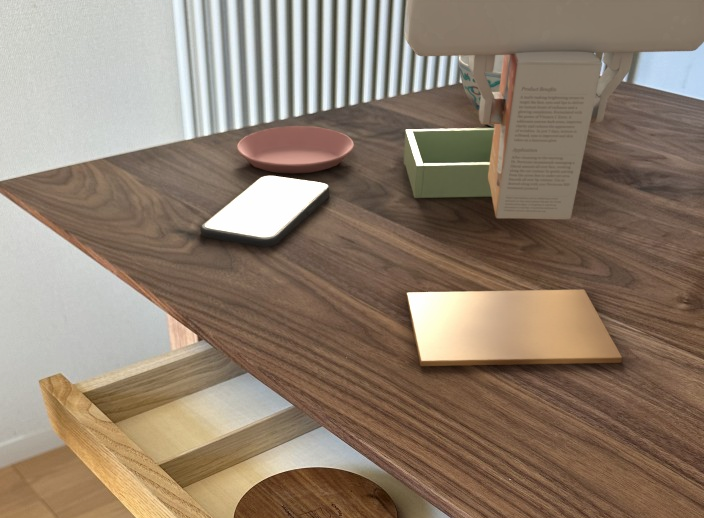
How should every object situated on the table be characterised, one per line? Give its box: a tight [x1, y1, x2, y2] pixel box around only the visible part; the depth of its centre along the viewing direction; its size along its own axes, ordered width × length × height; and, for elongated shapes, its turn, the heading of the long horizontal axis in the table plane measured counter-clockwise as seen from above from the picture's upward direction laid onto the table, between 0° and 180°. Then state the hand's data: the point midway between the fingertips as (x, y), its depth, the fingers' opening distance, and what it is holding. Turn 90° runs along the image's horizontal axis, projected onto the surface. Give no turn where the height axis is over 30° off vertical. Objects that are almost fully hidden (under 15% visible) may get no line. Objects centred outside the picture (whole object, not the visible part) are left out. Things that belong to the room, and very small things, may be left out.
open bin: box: [403, 127, 494, 199], centre depth 98 cm, size 12×13×4 cm
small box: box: [488, 51, 603, 220], centre depth 61 cm, size 8×6×10 cm
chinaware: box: [458, 55, 504, 128], centre depth 113 cm, size 15×15×8 cm
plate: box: [236, 125, 355, 174], centre depth 105 cm, size 14×14×2 cm
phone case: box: [200, 175, 331, 248], centre depth 91 cm, size 9×2×16 cm
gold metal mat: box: [405, 289, 623, 367], centre depth 72 cm, size 16×12×1 cm
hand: (540, 121), depth 61 cm, fingers closed on small box, 6 cm apart
